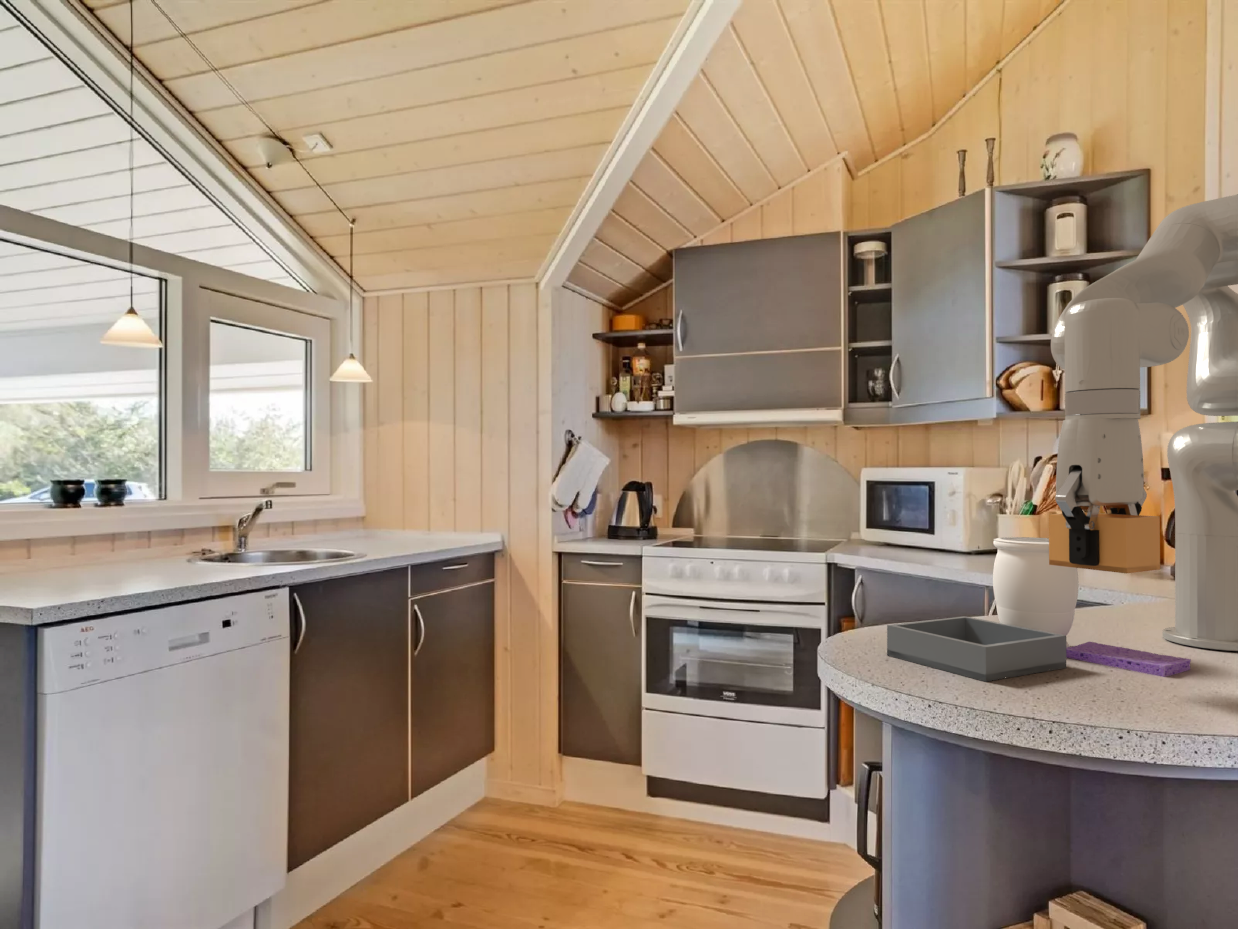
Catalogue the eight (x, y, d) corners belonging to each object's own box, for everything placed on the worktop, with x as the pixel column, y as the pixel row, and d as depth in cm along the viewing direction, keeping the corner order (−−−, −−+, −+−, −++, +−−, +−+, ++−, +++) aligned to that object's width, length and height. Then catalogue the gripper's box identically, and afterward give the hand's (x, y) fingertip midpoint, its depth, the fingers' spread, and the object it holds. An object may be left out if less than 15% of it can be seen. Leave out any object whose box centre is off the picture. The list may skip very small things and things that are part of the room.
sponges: (1164, 681, 96) (1164, 665, 96) (1060, 660, 107) (1060, 646, 107) (1192, 673, 100) (1192, 658, 100) (1088, 654, 111) (1088, 640, 111)
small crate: (1082, 561, 99) (1081, 512, 99) (1159, 569, 91) (1159, 516, 91) (1049, 564, 96) (1048, 514, 96) (1126, 573, 88) (1126, 518, 88)
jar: (983, 647, 112) (983, 539, 112) (1003, 636, 120) (1004, 535, 120) (1069, 659, 105) (1069, 544, 105) (1085, 646, 113) (1085, 539, 113)
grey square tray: (964, 644, 114) (964, 616, 114) (1066, 667, 100) (1066, 635, 100) (887, 655, 107) (887, 625, 107) (985, 681, 93) (985, 647, 93)
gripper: (1113, 411, 101) (1114, 554, 101) (1023, 408, 93) (1025, 564, 93) (1178, 407, 94) (1179, 561, 94) (1088, 403, 86) (1089, 571, 86)
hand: (1103, 561), depth 93 cm, fingers closed on small crate, 6 cm apart
